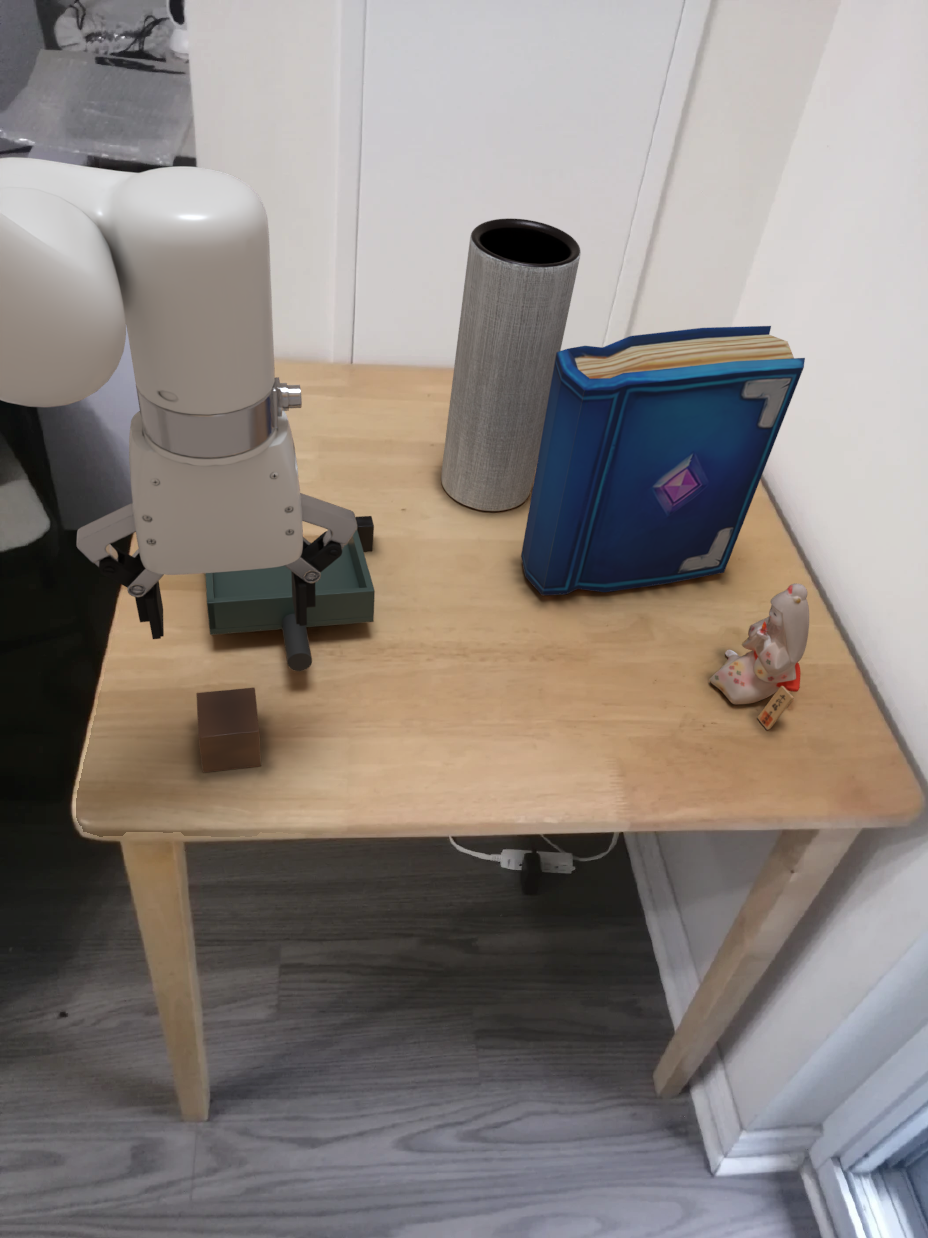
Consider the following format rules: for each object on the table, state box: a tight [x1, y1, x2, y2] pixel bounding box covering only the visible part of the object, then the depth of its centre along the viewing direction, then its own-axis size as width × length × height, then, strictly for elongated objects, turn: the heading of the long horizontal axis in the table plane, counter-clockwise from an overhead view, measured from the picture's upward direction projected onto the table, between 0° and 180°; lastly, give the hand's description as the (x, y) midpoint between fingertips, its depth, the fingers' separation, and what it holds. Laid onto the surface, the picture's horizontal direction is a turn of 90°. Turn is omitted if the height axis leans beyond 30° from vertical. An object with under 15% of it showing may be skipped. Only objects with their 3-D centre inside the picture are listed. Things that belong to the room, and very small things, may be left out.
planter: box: [440, 218, 582, 512], centre depth 93 cm, size 10×10×27 cm
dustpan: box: [204, 530, 376, 672], centre depth 83 cm, size 17×14×4 cm
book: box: [520, 325, 806, 596], centre depth 86 cm, size 22×7×25 cm, turn 108°
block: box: [196, 687, 262, 773], centre depth 73 cm, size 4×4×4 cm
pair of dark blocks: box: [355, 515, 375, 552], centre depth 90 cm, size 2×18×3 cm, turn 103°
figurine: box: [709, 582, 810, 731], centre depth 82 cm, size 9×7×12 cm
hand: (230, 618), depth 65 cm, fingers open, 9 cm apart
